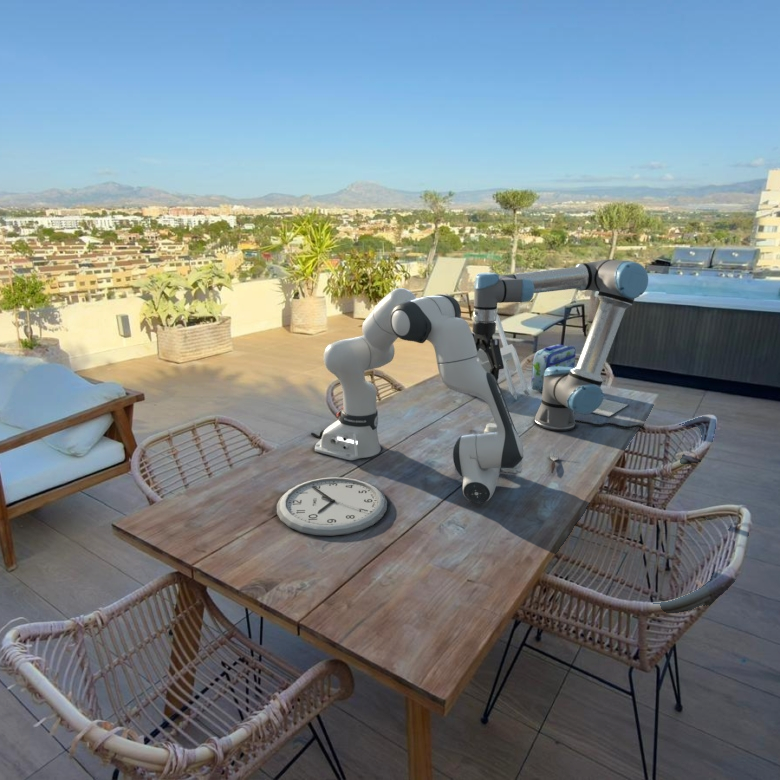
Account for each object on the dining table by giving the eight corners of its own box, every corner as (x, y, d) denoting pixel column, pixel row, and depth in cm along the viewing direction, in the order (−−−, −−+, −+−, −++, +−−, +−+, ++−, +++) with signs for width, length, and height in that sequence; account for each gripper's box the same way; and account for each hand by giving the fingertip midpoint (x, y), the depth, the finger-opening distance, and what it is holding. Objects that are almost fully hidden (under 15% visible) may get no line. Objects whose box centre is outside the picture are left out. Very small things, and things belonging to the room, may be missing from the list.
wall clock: (392, 527, 129) (268, 531, 127) (391, 533, 130) (269, 537, 127) (383, 473, 158) (282, 475, 155) (383, 478, 158) (282, 480, 156)
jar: (499, 468, 166) (503, 425, 162) (492, 473, 163) (495, 429, 158) (486, 464, 169) (489, 421, 165) (478, 469, 166) (482, 425, 161)
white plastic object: (461, 429, 252) (437, 405, 227) (444, 352, 274) (420, 323, 250) (535, 404, 240) (518, 377, 215) (510, 326, 262) (492, 293, 237)
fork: (547, 473, 163) (548, 467, 163) (550, 454, 177) (551, 448, 177) (556, 475, 162) (556, 469, 162) (558, 455, 177) (559, 449, 176)
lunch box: (547, 397, 237) (552, 352, 231) (526, 391, 245) (531, 348, 238) (574, 386, 255) (580, 344, 249) (554, 381, 262) (559, 340, 256)
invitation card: (608, 416, 214) (573, 407, 224) (608, 416, 214) (573, 408, 224) (628, 404, 229) (594, 396, 238) (628, 405, 229) (594, 397, 238)
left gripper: (522, 464, 149) (525, 445, 161) (451, 453, 154) (459, 437, 167) (520, 484, 150) (523, 464, 163) (450, 473, 156) (458, 455, 169)
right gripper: (454, 316, 181) (451, 375, 187) (498, 328, 160) (494, 394, 166) (472, 314, 184) (469, 372, 190) (518, 326, 163) (513, 391, 169)
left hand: (490, 450), depth 165 cm, fingers open, 8 cm apart
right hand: (480, 383), depth 178 cm, fingers open, 13 cm apart
